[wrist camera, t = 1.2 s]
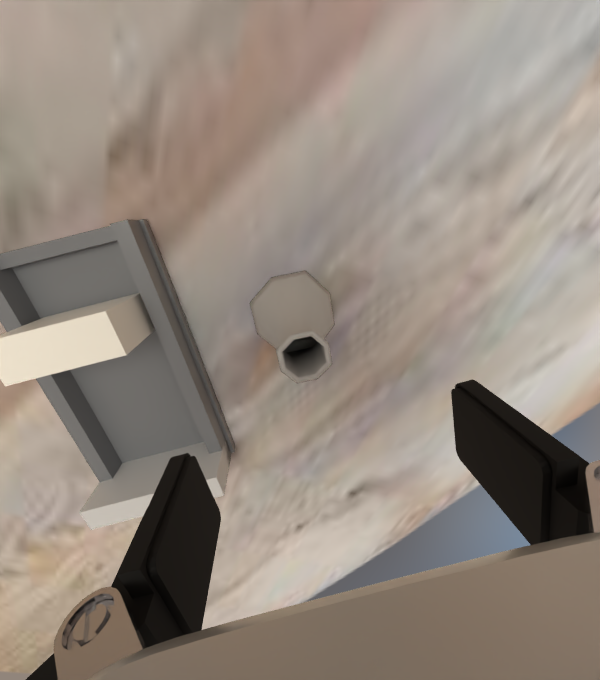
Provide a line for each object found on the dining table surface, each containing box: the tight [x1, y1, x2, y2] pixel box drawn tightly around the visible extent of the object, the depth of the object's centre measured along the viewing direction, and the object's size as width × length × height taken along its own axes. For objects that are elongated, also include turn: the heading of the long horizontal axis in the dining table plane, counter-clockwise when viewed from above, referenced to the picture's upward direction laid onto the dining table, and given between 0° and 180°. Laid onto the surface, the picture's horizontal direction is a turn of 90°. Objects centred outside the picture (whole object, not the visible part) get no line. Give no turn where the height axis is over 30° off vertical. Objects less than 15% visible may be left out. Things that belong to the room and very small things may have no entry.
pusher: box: [0, 293, 155, 386], centre depth 22 cm, size 3×8×6 cm, turn 104°
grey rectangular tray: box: [0, 219, 235, 530], centre depth 25 cm, size 22×12×6 cm, turn 14°
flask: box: [250, 271, 334, 383], centre depth 23 cm, size 7×7×10 cm
